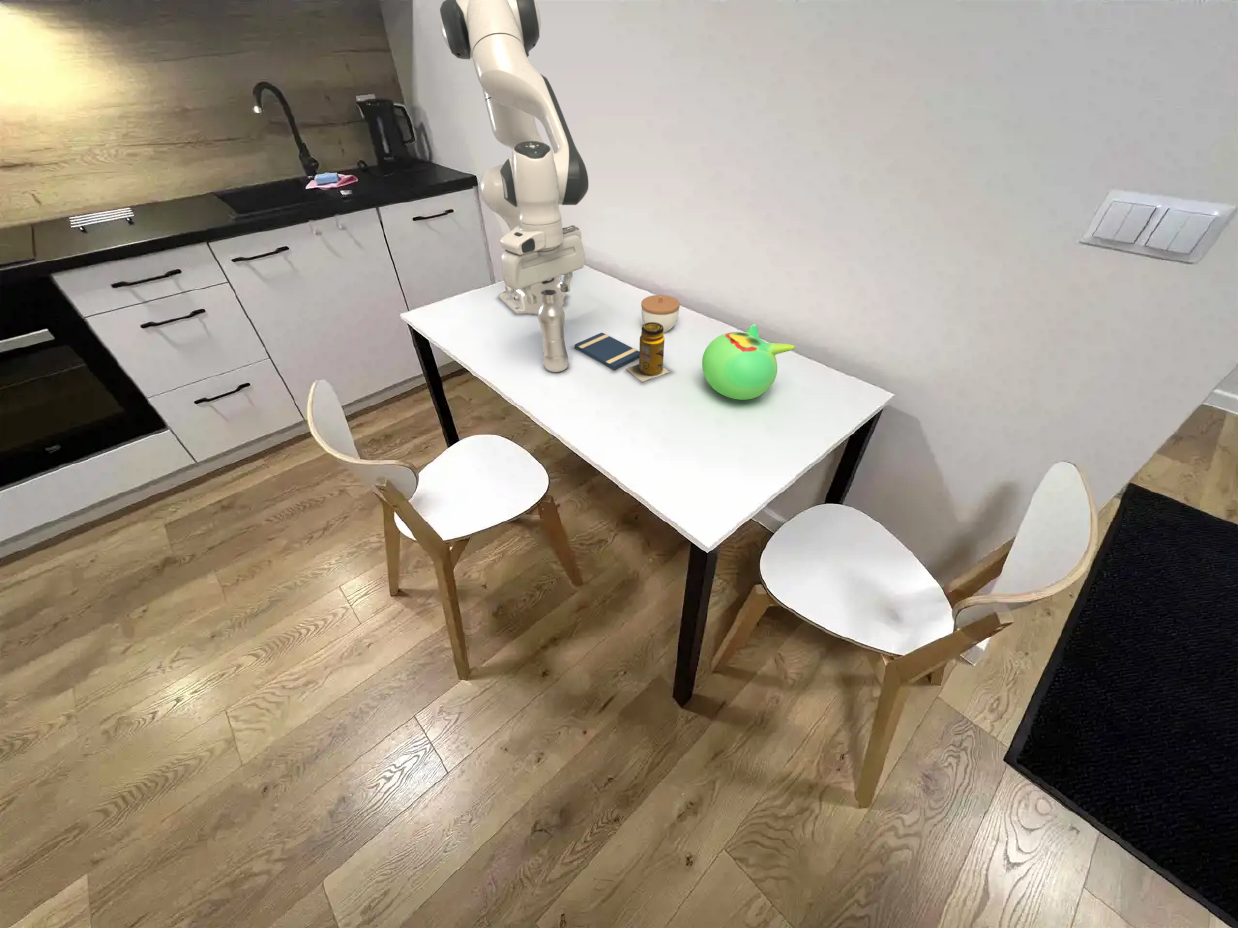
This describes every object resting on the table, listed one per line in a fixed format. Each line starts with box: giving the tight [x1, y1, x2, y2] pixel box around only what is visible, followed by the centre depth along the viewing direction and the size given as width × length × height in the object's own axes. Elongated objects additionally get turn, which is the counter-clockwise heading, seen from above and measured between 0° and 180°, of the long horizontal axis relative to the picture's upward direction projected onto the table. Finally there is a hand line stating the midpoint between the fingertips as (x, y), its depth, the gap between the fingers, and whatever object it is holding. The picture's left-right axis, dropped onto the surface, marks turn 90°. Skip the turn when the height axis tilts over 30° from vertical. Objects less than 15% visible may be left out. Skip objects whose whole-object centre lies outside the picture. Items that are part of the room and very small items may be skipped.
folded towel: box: [574, 332, 639, 371], centre depth 132 cm, size 16×10×1 cm, turn 43°
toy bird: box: [701, 323, 796, 401], centre depth 113 cm, size 18×17×15 cm
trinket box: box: [640, 294, 681, 334], centre depth 139 cm, size 11×11×9 cm
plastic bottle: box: [537, 289, 570, 373], centre depth 120 cm, size 6×7×20 cm
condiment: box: [625, 322, 670, 383], centre depth 121 cm, size 7×8×12 cm
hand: (549, 297), depth 114 cm, fingers open, 8 cm apart
